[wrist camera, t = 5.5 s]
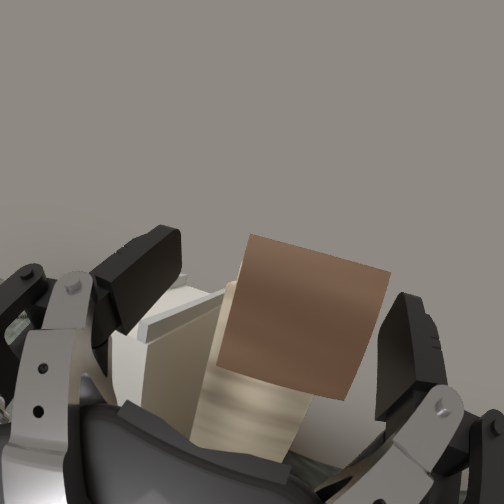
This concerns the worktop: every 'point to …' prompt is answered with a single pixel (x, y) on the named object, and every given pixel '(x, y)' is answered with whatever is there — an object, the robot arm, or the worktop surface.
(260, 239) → the walnut bar
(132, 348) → the white upright box
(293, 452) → the worktop surface
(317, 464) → the worktop surface
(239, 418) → the tall stand
